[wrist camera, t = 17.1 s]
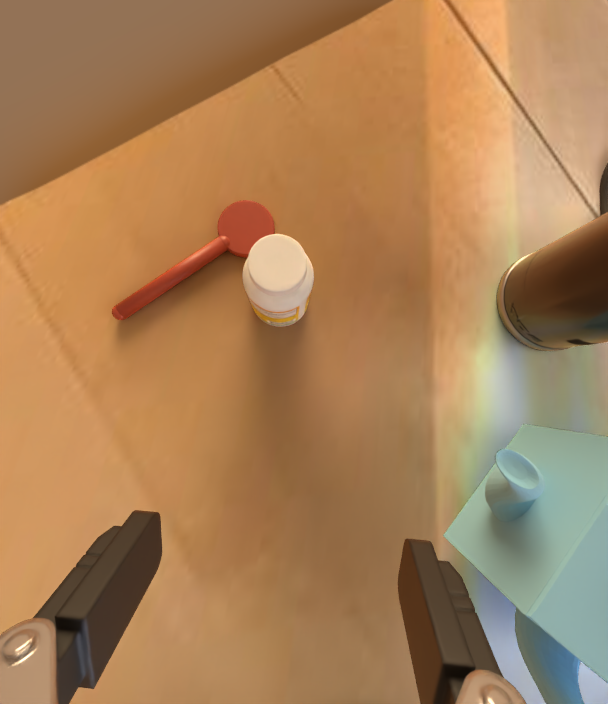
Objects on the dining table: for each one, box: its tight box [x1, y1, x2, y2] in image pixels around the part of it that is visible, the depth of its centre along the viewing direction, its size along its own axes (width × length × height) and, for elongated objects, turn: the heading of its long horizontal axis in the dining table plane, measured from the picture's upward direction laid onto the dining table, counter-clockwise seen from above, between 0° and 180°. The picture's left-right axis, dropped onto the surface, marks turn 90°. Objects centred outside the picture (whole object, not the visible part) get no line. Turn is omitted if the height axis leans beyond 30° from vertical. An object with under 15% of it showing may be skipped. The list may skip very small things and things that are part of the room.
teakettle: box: [443, 424, 608, 704], centre depth 25 cm, size 19×19×15 cm
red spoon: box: [112, 200, 275, 320], centre depth 33 cm, size 17×5×1 cm, turn 126°
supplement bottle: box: [242, 234, 314, 326], centre depth 28 cm, size 5×5×10 cm
